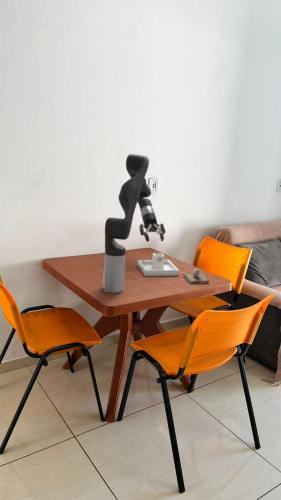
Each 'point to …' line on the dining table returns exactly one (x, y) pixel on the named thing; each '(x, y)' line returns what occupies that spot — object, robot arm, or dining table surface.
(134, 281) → the dining table surface
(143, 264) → the tray
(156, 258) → the sleeve
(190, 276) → the stake base
